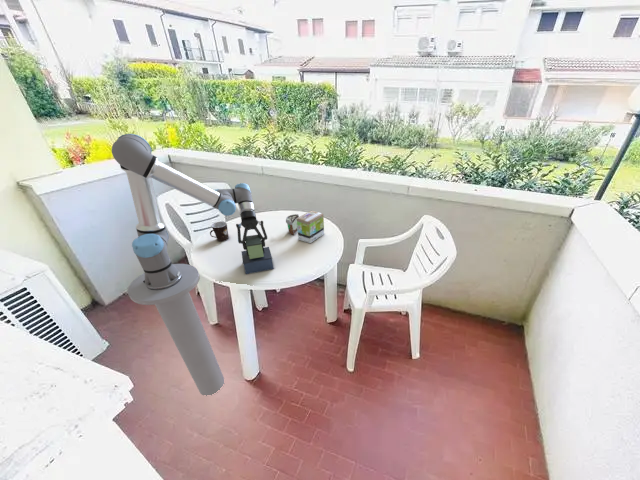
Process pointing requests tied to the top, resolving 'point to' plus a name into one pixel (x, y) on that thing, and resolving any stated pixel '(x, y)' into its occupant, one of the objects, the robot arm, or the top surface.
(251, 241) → the green box
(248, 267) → the blue tub
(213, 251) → the top surface
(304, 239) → the tea box
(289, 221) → the food container
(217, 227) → the coffee mug
